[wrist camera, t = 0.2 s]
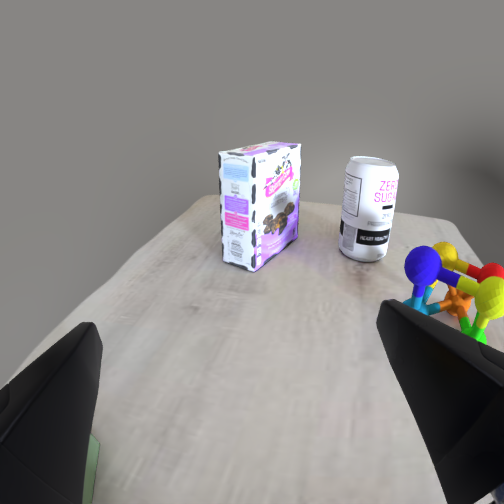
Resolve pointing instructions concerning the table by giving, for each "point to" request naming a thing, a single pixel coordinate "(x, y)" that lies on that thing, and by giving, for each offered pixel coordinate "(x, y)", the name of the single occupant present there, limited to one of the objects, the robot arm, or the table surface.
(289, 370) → the table surface
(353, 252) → the supplement can
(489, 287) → the molecular model
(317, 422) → the table surface
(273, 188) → the candy box
